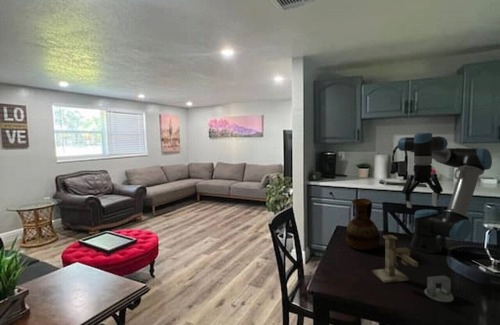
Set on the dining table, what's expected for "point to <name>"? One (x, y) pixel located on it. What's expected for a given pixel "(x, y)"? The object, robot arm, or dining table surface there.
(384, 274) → the peg stand
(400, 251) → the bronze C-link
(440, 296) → the felt pad
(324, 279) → the dining table surface
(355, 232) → the ceramic pitcher
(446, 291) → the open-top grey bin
